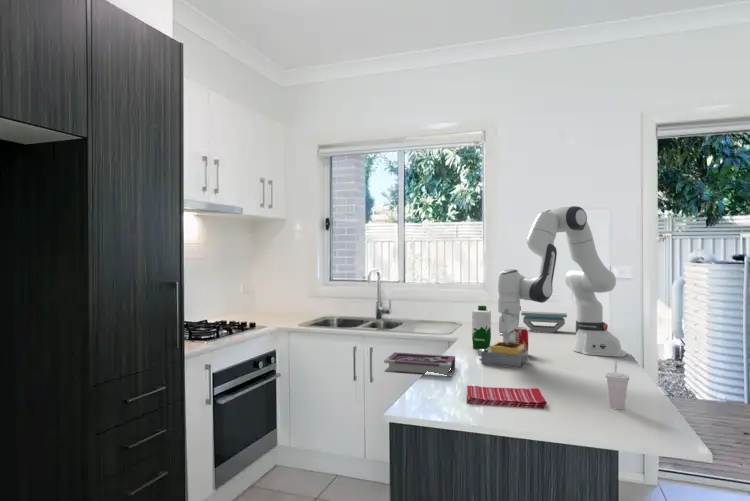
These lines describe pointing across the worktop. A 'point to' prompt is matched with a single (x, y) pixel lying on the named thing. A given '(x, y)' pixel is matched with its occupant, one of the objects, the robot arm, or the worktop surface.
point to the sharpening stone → (544, 320)
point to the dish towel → (506, 397)
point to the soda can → (521, 336)
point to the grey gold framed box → (504, 355)
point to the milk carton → (481, 328)
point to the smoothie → (617, 388)
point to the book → (420, 363)
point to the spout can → (512, 340)
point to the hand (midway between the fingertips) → (508, 341)
